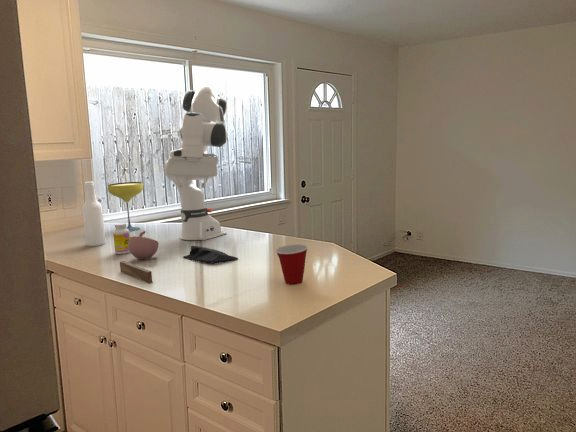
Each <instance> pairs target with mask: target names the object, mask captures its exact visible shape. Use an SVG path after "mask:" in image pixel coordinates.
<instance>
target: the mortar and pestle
mask: <svg viewBox="0 0 576 432" xmlns="http://www.w3.org/2000/svg"><path fill="white" fill-rule="evenodd" d="M146 233H147V231H146V230H143V231H141V232H140V233H139V235H138V236H137V235H133V236H130V238H129V242H128V248H129V251H130V252H129V253H130V254H131V255H132V256H133V257H134V258H135V259H139V260H147V259H150V258H152V257H153V256H154V255H155V254H156V253H157V252H158V249H159V244H160V243H159V241H158V240H156V239H153V238H149V237H146V236H143V235H144V234H146Z"/></svg>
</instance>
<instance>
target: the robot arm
mask: <svg viewBox="0 0 576 432" xmlns="http://www.w3.org/2000/svg"><path fill="white" fill-rule="evenodd" d="M217 94H218V93H217V92H216V89H215V88H214V87H213V86H211V85H208V84H204V85H201V86H199V87H198V89H197V90H196V91H195V90H194V89H190V90H186V91H185V93H184V94H183V95H182V98H181V106H182V109H183V110H184V111H185V113H183V115H182V116H183V117H182V122H181V126H180V139H181V140H182V141H181V143H180V144H181V147H180V148H176V149H174V150H170V152H169V156H170V157H169V158H168V159H167V160H166V161H165V163H164V167H163V171H164V172H163V173H165V176H166V177H167V178H168V179H169V180H170V181H172V183H173V184H174V185H175V186H176V188H177V190H178V193H179V198H180V199H179V200H180V207H181V209H180V217H181V218H180V219H181V235H180V239H181V240H184V241H197V240H198V241H199V240H201V241H204V240H205V241H206V240H210V239H213V238H215V237H216V238H217V237H220V236H223V235H226V234H227V232H226V230H224V229H222V227H221V223H220V222H219V220H217V219H216V218H214V217H212V216H211V215H209V213H212V211H213V209H212V208H210V207H208V208H207V207H205V194H204V192H203V189H204V188H206V183H207V182H208V180H209V179H212V178H215V177H217V175H218V166H217V165H218V163H219V157H218V156H217V154H215V153H208V147H215V148H221V147H223V146H225V144H226V143H227V141H228V130H227V128H226V123H225V116H226V114H227V112H228V102H227V100H226V99H225V98H222V97H219V96H218V95H217ZM193 181H203V182H201V186H200V187H201V188H203V189H200V188H199V187H197V186H196V185H195V184H194V182H193Z"/></svg>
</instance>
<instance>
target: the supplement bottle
mask: <svg viewBox="0 0 576 432" xmlns="http://www.w3.org/2000/svg"><path fill="white" fill-rule="evenodd" d="M114 228H115V229H114V230H113V232H112V234H113V244H114V253H115V254H117V255H126V254H129V253H130V251H129V248H128V242H129V238H130V237H131V236H130V231H129V230H128V229H126V228H127V223H126V222H118V223H117V222H116V223H115V224H114Z"/></svg>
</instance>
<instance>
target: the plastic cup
mask: <svg viewBox="0 0 576 432" xmlns="http://www.w3.org/2000/svg"><path fill="white" fill-rule="evenodd" d="M308 248H309V245H307V244H304V243H294V244H292V243H291V244H288V245H282V246H280V247H277V248H275V253H276V255H277V256H278V259H279V262H280V267H281V272H282V274H283V280H284V283H285V284H286V285H291V286H294V285H295V286H297V285H301V284H302V283H303V280H304V273H305V265H306V258H307V257H306V256H307V251H308Z"/></svg>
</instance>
